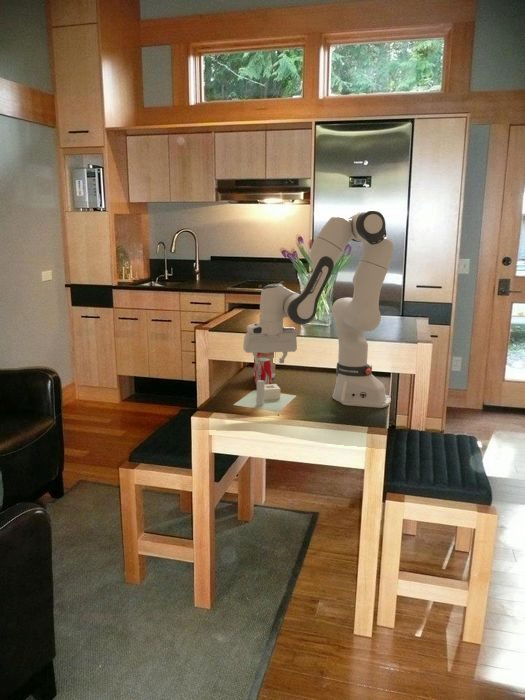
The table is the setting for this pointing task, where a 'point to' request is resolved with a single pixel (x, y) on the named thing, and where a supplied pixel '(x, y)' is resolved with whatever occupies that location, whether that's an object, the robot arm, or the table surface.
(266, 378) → the soda can
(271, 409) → the post board
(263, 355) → the fruit juice
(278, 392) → the square collar
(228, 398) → the table surface
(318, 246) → the robot arm
